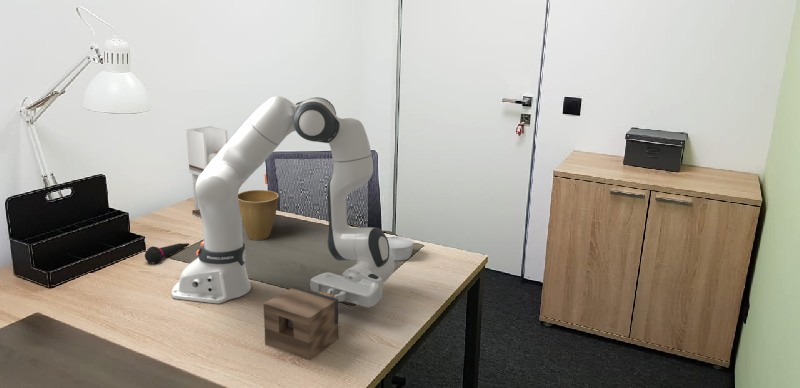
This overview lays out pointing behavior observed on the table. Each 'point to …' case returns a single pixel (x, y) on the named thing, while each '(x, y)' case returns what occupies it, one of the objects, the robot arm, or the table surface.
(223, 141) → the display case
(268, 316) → the block
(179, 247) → the microphone
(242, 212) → the plant pot
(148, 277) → the table surface
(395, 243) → the ramekin
